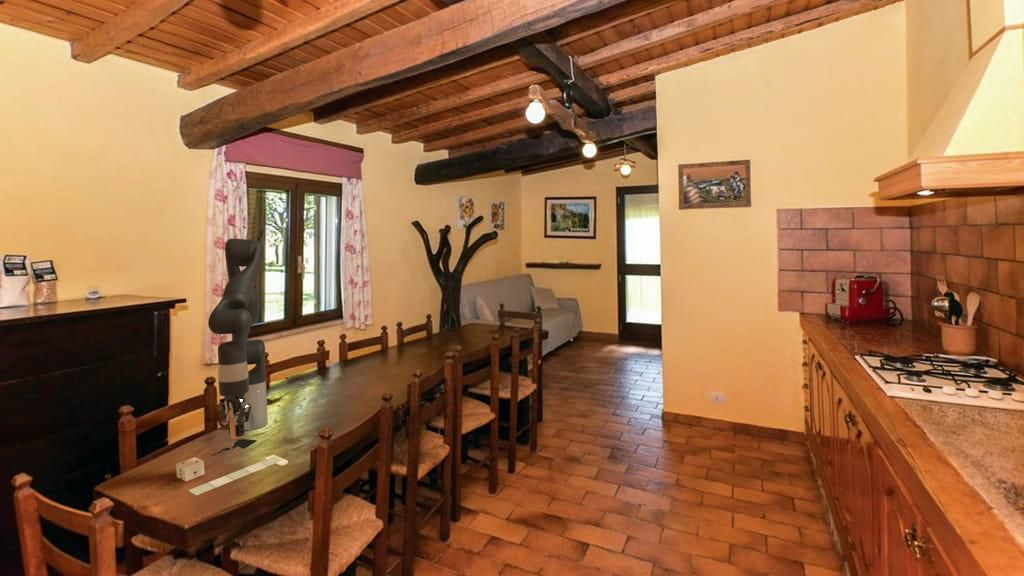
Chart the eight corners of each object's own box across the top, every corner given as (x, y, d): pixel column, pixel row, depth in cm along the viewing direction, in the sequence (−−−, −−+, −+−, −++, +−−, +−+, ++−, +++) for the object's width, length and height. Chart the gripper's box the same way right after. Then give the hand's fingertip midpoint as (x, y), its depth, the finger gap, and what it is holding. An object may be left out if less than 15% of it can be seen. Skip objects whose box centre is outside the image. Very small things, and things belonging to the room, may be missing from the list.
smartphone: (206, 458, 149) (240, 438, 164) (206, 460, 149) (240, 440, 164) (226, 459, 148) (258, 440, 162) (226, 461, 148) (258, 441, 163)
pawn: (227, 437, 135) (226, 407, 134) (239, 433, 138) (238, 404, 137) (233, 440, 133) (232, 409, 133) (245, 436, 136) (244, 406, 136)
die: (176, 480, 135) (175, 463, 134) (195, 473, 139) (194, 456, 139) (185, 485, 132) (184, 467, 132) (204, 477, 137) (203, 460, 136)
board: (182, 492, 128) (182, 489, 128) (273, 457, 150) (273, 454, 150) (196, 501, 124) (196, 498, 124) (287, 463, 146) (287, 460, 146)
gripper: (259, 377, 134) (262, 435, 135) (234, 371, 141) (237, 425, 143) (232, 384, 127) (235, 444, 129) (207, 376, 135) (211, 433, 136)
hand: (236, 434), depth 136 cm, fingers closed on pawn, 3 cm apart
